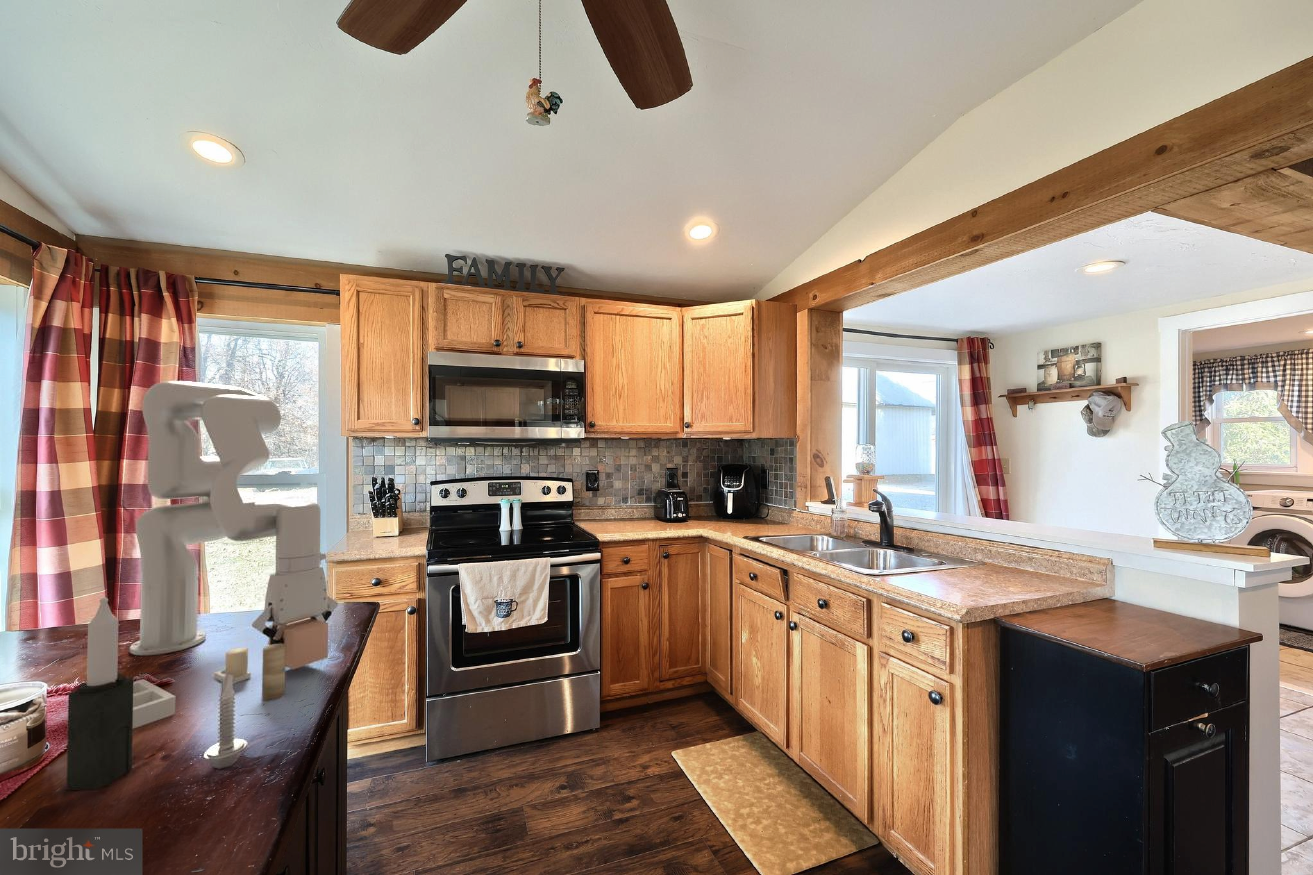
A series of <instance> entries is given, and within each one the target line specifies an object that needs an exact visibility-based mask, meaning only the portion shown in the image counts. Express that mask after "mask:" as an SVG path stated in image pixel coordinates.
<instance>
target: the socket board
mask: <svg viewBox="0 0 1313 875" xmlns="http://www.w3.org/2000/svg"><path fill="white" fill-rule="evenodd" d="M175 714H176V695H173V694H172V693H170V692H168V691H167V690H164V689H162V688H161V687H159V686H157V685H155V684H153V683H151V682H150V681H147V680H146V679H145V678H144V679H143V678H142V679H139V680H136V681H134V683H133V729H134V730H135V729H136V728H140V727H142V726H144V725H147V724H150V723H153V722H156V721H159V720H162V719H165V718H168V717H171V716H173V715H175Z"/></svg>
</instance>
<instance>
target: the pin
mask: <svg viewBox="0 0 1313 875" xmlns="http://www.w3.org/2000/svg"><path fill="white" fill-rule="evenodd" d="M285 657H286V645H285V644H273V645H269V646H267V645H266V646H264V647H263V648H262V667H261V668H262V672H261V674H262V677H261V678H262V679H261V680H262V682H261V683H262V684H261V700H262V701H265V702H270V701H275V700H278V699H280V698H282V697H284V696H285V694H286V666H285Z"/></svg>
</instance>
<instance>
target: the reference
mask: <svg viewBox="0 0 1313 875" xmlns="http://www.w3.org/2000/svg"><path fill="white" fill-rule="evenodd" d="M248 657H249V649H248V648H247V647H238V648H233V649H230V650H228V651H226V652H225V666H224V667H225V669H222V670H219V671H216V672H214V676H213V678H214V679H216V680H218V681H222V677H223V676H225V675H227V674H230V675H233V685H234V684H236V683H240V682H242V681H246V680H248V679H250V678H251V676H252V675H251V674H252V673H251V672H250V671H249V670H248V664H249V663H248V661H249V658H248Z"/></svg>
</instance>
